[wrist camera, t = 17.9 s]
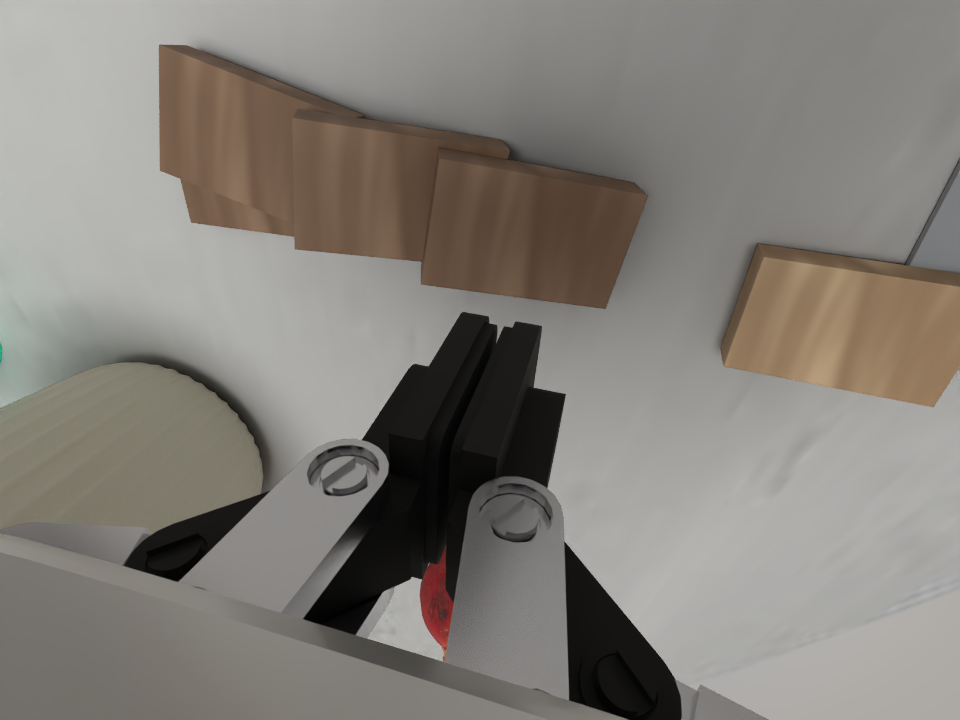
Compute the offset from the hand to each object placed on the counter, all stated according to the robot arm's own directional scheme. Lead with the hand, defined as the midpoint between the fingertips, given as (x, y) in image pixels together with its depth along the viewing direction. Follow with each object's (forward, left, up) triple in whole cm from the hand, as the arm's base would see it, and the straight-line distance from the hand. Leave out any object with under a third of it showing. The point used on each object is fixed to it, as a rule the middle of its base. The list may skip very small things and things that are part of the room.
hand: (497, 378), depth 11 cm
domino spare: (-16, +3, -12) cm, 20 cm away
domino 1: (-3, +1, -13) cm, 13 cm away
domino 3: (+9, 0, -12) cm, 15 cm away
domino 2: (+3, 0, -13) cm, 13 cm away
